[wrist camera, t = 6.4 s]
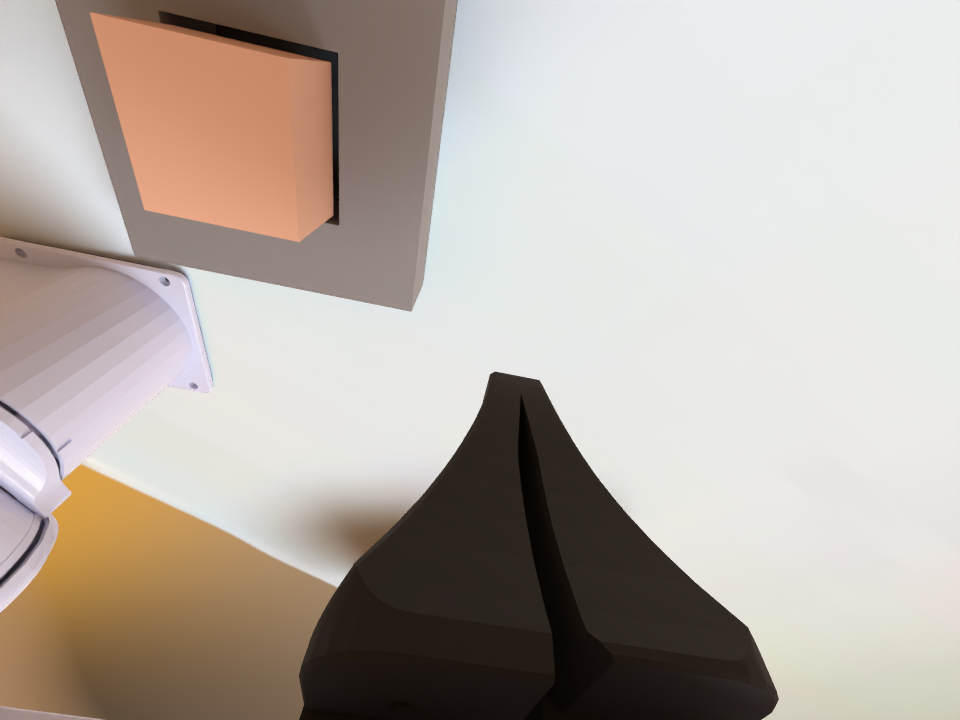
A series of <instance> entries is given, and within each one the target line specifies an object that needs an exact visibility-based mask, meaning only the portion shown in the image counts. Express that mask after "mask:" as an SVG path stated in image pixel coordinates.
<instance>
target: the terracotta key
mask: <svg viewBox="0 0 960 720" xmlns="http://www.w3.org/2000/svg"><path fill="white" fill-rule="evenodd" d="M90 16H91V19H92V23H93V27H94V30H95V34H96V37H97V41H98V45H99V48H100V52H101V55H102V59H103V63H104V66H105V70H106V73H107V77H108V81H109V84H110V88H111V91H112V95H113V99H114V102H115V106H116V109H117V113H118V117H119V120H120V124H121V127H122V131H123V135H124V138H125V142H126V145H127V149H128V153H129V156H130V160H131V163H132V167H133V171H134V174H135V178H136V181H137V185H138V189H139V192H140V196H141V199H142V203H143V207H144V210H146V211H151V212H156V213H161V214H166V215H171V216H175V217H180V218H185V219H190V220H195V221H200V222H204V223H209V224H214V225H219V226H224V227H229V228H233V229H238V230H243V231H248V232H253V233H258V234H262V235H267V236H272V237H277V238H282V239H287V240H291V241H296V242H300V241H301V240H303V239H304V238H305V237H306V236H308V235H309V234H310V233H312V232H313V231H314V230H315V229H317V228H318V227H319V226H321V225H322V224H323V223H324V222H326V221H327V220H328V219H329V218H331V217H332V216H333V150H332V82H331V62H328V61H324V60H319V59H315V58H311V57H307V56H302V55H298V54H294V53H290V52H285V51H281V50H277V49H273V48H268V47H264V46H260V45H256V44H251V43H247V42H243V41H239V40H234V39H230V38H226V37H222V36H217V35H213V34H209V33H205V32H200V31H196V30H192V29H188V28H183V27H179V26H175V25H169V24H163V23H156V22H150V21H143V20H137V19H131V18H124V17H118V16H111V15H105V14H99V13H92V12H90Z"/></svg>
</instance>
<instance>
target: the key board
mask: <svg viewBox="0 0 960 720" xmlns="http://www.w3.org/2000/svg"><path fill="white" fill-rule="evenodd" d="M55 1H56V5H57V8H58V11H59V14H60V18H61V21H62V24H63V27H64V30H65V34H66V37H67V40H68V43H69V46H70V50H71V53H72V56H73V59H74V63H75V66H76V69H77V72H78V75H79V79H80V82H81V85H82V88H83V91H84V95H85V98H86V101H87V104H88V107H89V111H90V114H91V117H92V120H93V124H94V127H95V130H96V133H97V136H98V140H99V143H100V146H101V149H102V152H103V156H104V159H105V162H106V165H107V169H108V172H109V175H110V178H111V181H112V185H113V188H114V191H115V194H116V197H117V201H118V204H119V207H120V210H121V214H122V217H123V220H124V223H125V226H126V230H127V233H128V236H129V239H130V242H131V246H132V249H133V252H134V255H135V256H136V257H141V258H146V259H151V260H156V261H161V262H166V263H171V264H176V265H181V266H186V267H191V268H196V269H201V270H206V271H211V272H216V273H221V274H226V275H231V276H236V277H241V278H246V279H251V280H256V281H261V282H266V283H271V284H276V285H281V286H286V287H291V288H296V289H301V290H306V291H311V292H316V293H321V294H326V295H331V296H336V297H341V298H346V299H351V300H356V301H361V302H366V303H371V304H376V305H381V306H386V307H391V308H396V309H401V310H406V311H412V309H413V306H414V304H415V302H416V299H417V297H418V294H419V292H420V290H421V287H422V285H423V279H424V271H425V263H426V255H427V247H428V239H429V230H430V222H431V214H432V206H433V198H434V190H435V181H436V173H437V165H438V157H439V149H440V141H441V133H442V124H443V116H444V108H445V100H446V92H447V84H448V75H449V67H450V59H451V51H452V43H453V35H454V26H455V18H456V10H457V2H458V0H55ZM90 12H92V13H99V14H105V15H111V16H118V17H124V18H131V19H137V20H143V21H150V22H156V23H163V24H169V25H175V26H179V27H183V28H188V29H192V30H196V31H200V32H205V33H209V34H213V35H217V30H216V24H219V25H223V26H227V27H231V28H235V29H240V30H244V31H248V32H252V33H257V34H261V35H265V36H269V37H273V38H278V39H282V40H286V41H290V42H295V43H299V44H303V45H307V46H311V47H316V48H320V49H324V50H328V51H333V52H337V53H338V98H339V201H334V200H333V216H332V217H331V218H329V219H328V220H327V221H326V222H324V223H323V224H322V225H321V226H319V227H318V228H317V229H315V230H314V231H313V232H312V233H310V234H309V235H308V236H306V237H305V238H304V239H303V240H301V241H300V242H296V241H291V240H287V239H282V238H277V237H272V236H267V235H262V234H258V233H253V232H248V231H243V230H238V229H233V228H229V227H224V226H219V225H214V224H209V223H204V222H200V221H195V220H190V219H185V218H180V217H175V216H171V215H166V214H161V213H156V212H151V211H146V210H144V207H143V203H142V199H141V196H140V192H139V189H138V185H137V181H136V178H135V174H134V171H133V167H132V163H131V160H130V156H129V153H128V149H127V145H126V142H125V138H124V135H123V131H122V127H121V124H120V120H119V117H118V113H117V109H116V106H115V102H114V99H113V95H112V91H111V88H110V84H109V81H108V77H107V73H106V70H105V66H104V63H103V59H102V55H101V52H100V48H99V45H98V41H97V37H96V34H95V30H94V27H93V23H92V19H91V16H90Z"/></svg>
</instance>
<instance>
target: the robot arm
mask: <svg viewBox="0 0 960 720" xmlns="http://www.w3.org/2000/svg"><path fill="white" fill-rule="evenodd" d="M165 278H167V279H168V280H169V282H168V281H167V280H166V279H165ZM166 386H168V387H174V388H179V389H185V390H190V391H196V392H201V393H209V392H210V391H211V390H212V389H213V388H214V385H213V381H212V377H211V373H210V368H209V364H208V360H207V356H206V352H205V348H204V343H203V339H202V335H201V331H200V327H199V323H198V318H197V314H196V310H195V306H194V302H193V298H192V293H191V289H190V285H189V282H188V279H187V278H186V277H185V276H184V275H183V274H181V273H179V272H175V271H170V270H165V269H160V268H155V267H150V266H145V265H140V264H135V263H130V262H125V261H120V260H115V259H110V258H105V257H100V256H95V255H90V254H85V253H80V252H75V251H70V250H65V249H60V248H54V247H49V246H44V245H39V244H34V243H29V242H24V241H19V240H14V239H9V238H4V237H0V612H1V611H2V610H3V609H4V608H6V607H7V606H8V605H9V604H10V603H11V602H12V601H13V600H14V599H15V598H16V597H17V596H18V595H19V594H20V593H21V592H22V591H23V590H24V589H25V588H26V587H27V586H28V584H29V583H30V582H31V581H32V580H33V578H34V577H35V576H36V575H37V573H38V572H39V570H40V569H41V567H42V566H43V564H44V563H45V561H46V559H47V557H48V555H49V553H50V551H51V550H52V547H53V545H54V543H55V541H56V538H57V534H58V522H57V521H56V519H55V518H54V516H53V515H51V513H52V512H53V511H54V510H55V509H56V508H57V507H58V506H59V505H60V504H62V502H64V501H65V500H66V499H67V498H68V497H69V496H70V495H71V491H69V489H68V488H67V487H66V486H65V485H64V484H63V483H62V480H63V479H64V478H65V477H66V476H68V475H69V474H70V473H71V472H72V471H73V470H74V469H75V468H76V467H77V466H79V465H80V464H81V463H82V462H83V461H84V460H85V459H86V458H88V457H89V456H90V455H91V454H92V453H93V452H94V451H95V450H96V449H98V448H99V447H100V446H101V445H102V444H103V443H104V442H105V441H106V440H108V439H109V438H110V437H111V436H112V435H113V434H114V433H115V432H116V431H118V430H119V429H120V428H121V427H122V426H123V425H124V424H125V423H126V422H128V421H129V420H130V419H131V418H132V417H133V416H134V415H135V414H136V413H138V412H139V411H140V410H141V409H142V408H143V407H144V406H145V405H146V404H148V403H149V402H150V401H151V400H152V399H153V398H154V397H155V396H156V395H158V394H159V393H160V392H161V391H162V390H163V389H164V388H165V387H166ZM299 679H300V683H301V690H302V695H303V701H304V707H303V710H302V713H301V716H300V719H299V720H761V719H763V718H764V717H766V716H767V715H769V714H770V713H772V711H773V709H774V708H775V706H776V704H777V702H778V700H779V699H778V695H777V691H776V689H775V686H774V684H773V682H772V679H771V677H770V675H769V672H768V670H767V668H766V665H765V663H764V661H763V658H762V656H761V654H760V652H759V649H758V647H757V645H756V643H755V641H754V638H753V637H752V635H751V633H750V631H749V628H748V627H747V626H746V625H745V624H743V623H742V622H741V621H740V620H739V619H737V618H736V617H735V616H734V615H733V614H732V613H730V612H729V611H728V610H727V609H726V608H725V607H723V606H722V605H721V604H720V603H719V602H717V601H716V600H715V599H714V598H713V597H712V596H710V595H709V594H708V593H707V592H706V591H705V590H703V589H702V588H701V587H700V586H699V585H698V584H696V583H695V582H694V581H693V580H692V579H691V578H690V577H689V576H688V575H687V574H686V573H685V572H684V571H682V570H681V569H680V568H679V567H678V566H677V565H676V564H675V563H674V562H673V561H672V560H671V559H670V558H669V557H668V556H667V555H666V554H665V553H664V552H663V551H662V550H661V549H660V548H659V547H658V546H657V545H656V544H655V543H654V542H653V541H652V540H651V539H650V538H649V537H648V536H647V535H646V534H645V533H644V532H643V531H642V530H641V529H640V527H639V526H638V525H637V524H636V523H635V522H634V521H633V520H632V519H631V518H630V517H629V516H628V514H627V513H626V512H625V511H624V510H623V509H622V507H621V506H620V505H619V504H618V503H617V502H616V500H615V499H614V498H613V497H612V495H611V494H610V493H609V492H608V490H607V489H606V488H605V487H604V485H603V484H602V483H601V482H600V480H599V479H598V478H597V476H596V475H595V474H594V472H593V471H592V469H591V468H590V466H589V465H588V463H587V462H586V460H585V459H584V458H583V456H582V455H581V453H580V451H579V450H578V448H577V447H576V445H575V444H574V442H573V440H572V439H571V437H570V435H569V434H568V432H567V430H566V428H565V427H564V425H563V423H562V422H561V420H560V418H559V416H558V414H557V413H556V411H555V409H554V407H553V405H552V403H551V401H550V399H549V397H548V395H547V393H546V391H545V390H544V388H543V386H542V384H541V382H540V381H539V380H536V379H531V378H525V377H520V376H515V375H510V374H505V373H499V372H494V373H492V374H490V377H489V381H488V384H487V388H486V392H485V396H484V400H483V403H482V406H481V408H480V411H479V413H478V415H477V417H476V419H475V421H474V423H473V425H472V426H471V428H470V430H469V431H468V433H467V435H466V436H465V438H464V440H463V442H462V443H461V445H460V446H459V448H458V449H457V451H456V452H455V454H454V455H453V457H452V458H451V460H450V461H449V462H448V464H447V465H446V466H445V468H444V469H443V471H442V472H441V473H440V474H439V476H438V477H437V478H436V479H435V481H434V482H433V483H432V484H431V486H430V487H429V488H428V489H427V490H426V492H425V493H424V494H423V495H422V496H421V497H420V499H419V500H418V501H417V502H416V503H415V504H414V505H413V506H412V507H411V508H410V509H409V510H408V512H407V513H406V514H405V515H404V516H403V517H402V518H401V519H400V520H399V521H398V522H397V523H396V524H395V525H394V526H393V527H392V528H391V529H390V530H389V531H388V532H387V533H386V534H385V535H384V536H383V537H382V538H381V539H380V540H379V541H378V542H377V543H376V544H374V545H373V546H372V547H371V548H370V549H369V550H368V551H367V552H366V553H365V554H364V555H363V556H362V557H360V558H359V559H358V560H357V561H356V562H355V563H354V565H353V567H352V568H351V569H350V571H349V572H348V574H347V575H346V577H345V578H344V580H343V581H342V583H341V584H340V586H339V587H338V589H337V590H336V592H335V593H334V595H333V597H332V598H331V600H330V601H329V603H328V605H327V606H326V608H325V610H324V611H323V613H322V615H321V618H320V619H319V621H318V623H317V625H316V627H315V630H314V632H313V634H312V637H311V639H310V642H309V645H308V648H307V651H306V654H305V657H304V660H303V663H302V666H301V670H300V674H299ZM0 720H103V719H94V718H87V717H79V716H72V715H64V714H57V713H49V712H41V711H33V710H25V709H18V708H11V707H2V706H0Z"/></svg>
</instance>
